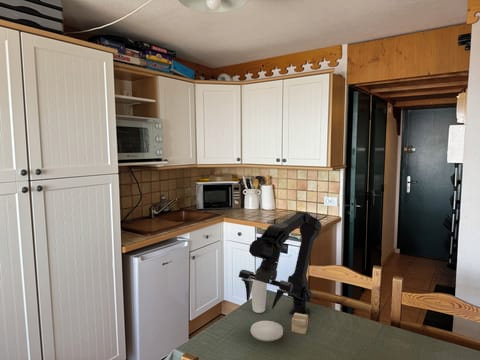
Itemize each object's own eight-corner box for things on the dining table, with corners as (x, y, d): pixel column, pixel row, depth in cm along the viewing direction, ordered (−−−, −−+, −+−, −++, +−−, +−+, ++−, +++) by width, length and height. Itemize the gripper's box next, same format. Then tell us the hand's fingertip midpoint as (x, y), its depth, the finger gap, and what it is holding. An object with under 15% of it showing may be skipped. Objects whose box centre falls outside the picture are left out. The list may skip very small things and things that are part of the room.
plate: (256, 320, 133) (256, 318, 133) (286, 326, 129) (286, 324, 129) (245, 337, 122) (245, 334, 122) (277, 344, 118) (277, 341, 118)
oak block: (294, 325, 130) (294, 312, 130) (307, 327, 128) (307, 315, 128) (291, 331, 126) (291, 319, 125) (305, 334, 124) (305, 321, 123)
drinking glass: (265, 315, 138) (265, 279, 136) (249, 313, 139) (249, 278, 137) (267, 307, 144) (267, 273, 142) (252, 305, 146) (251, 272, 144)
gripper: (239, 252, 117) (228, 298, 114) (292, 266, 111) (282, 315, 108) (248, 254, 127) (237, 297, 124) (297, 267, 121) (287, 312, 118)
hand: (260, 305), depth 118 cm, fingers open, 9 cm apart
